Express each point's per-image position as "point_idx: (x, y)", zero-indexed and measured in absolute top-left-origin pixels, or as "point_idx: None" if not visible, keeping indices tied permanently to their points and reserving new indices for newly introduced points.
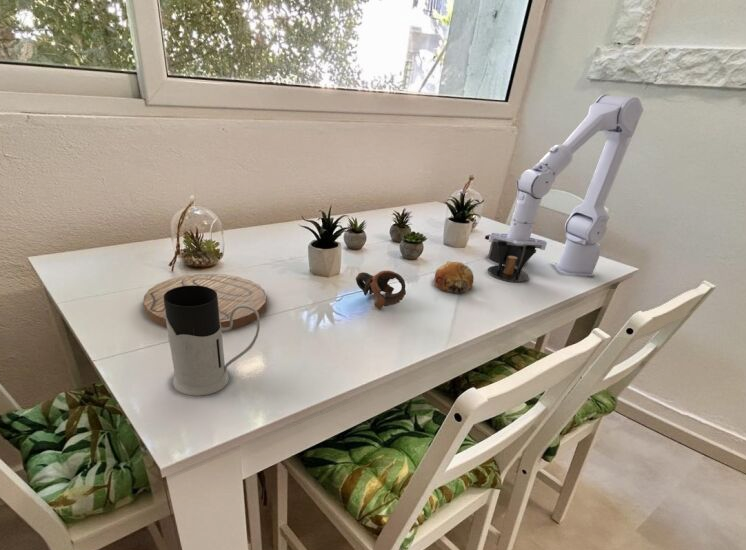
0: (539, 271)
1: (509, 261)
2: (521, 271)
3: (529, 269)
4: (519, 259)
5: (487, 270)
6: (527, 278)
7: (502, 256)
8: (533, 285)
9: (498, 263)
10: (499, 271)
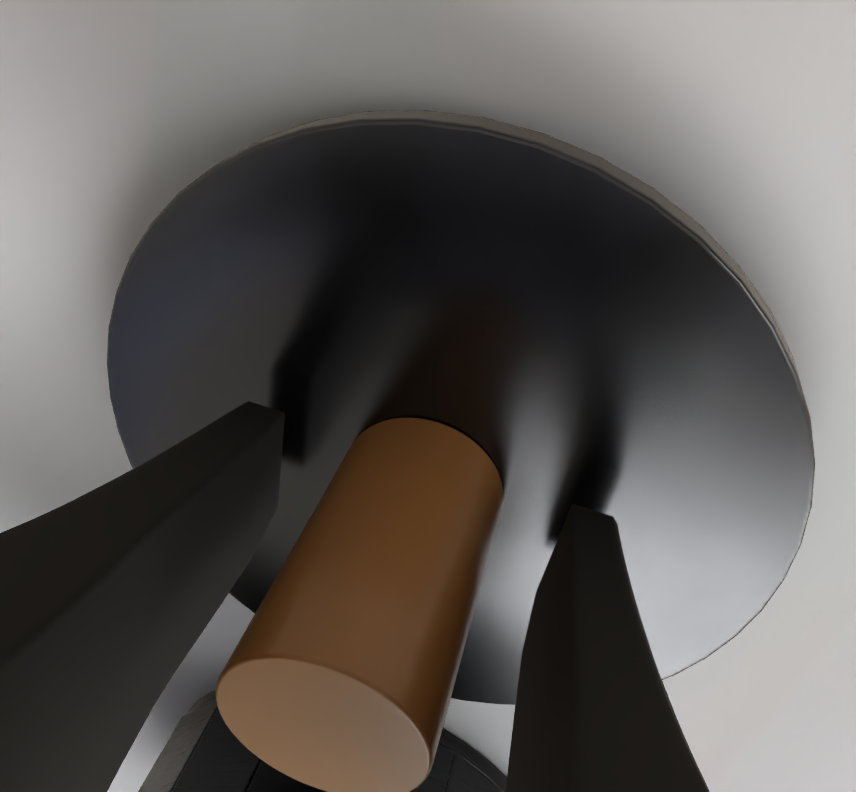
0: None
1: (414, 628)
2: None
3: None
4: (199, 770)
5: (768, 586)
6: (128, 281)
7: (620, 774)
8: (60, 138)
9: (461, 762)
10: None
